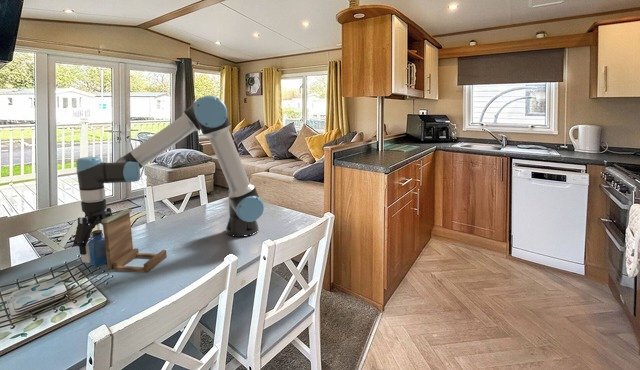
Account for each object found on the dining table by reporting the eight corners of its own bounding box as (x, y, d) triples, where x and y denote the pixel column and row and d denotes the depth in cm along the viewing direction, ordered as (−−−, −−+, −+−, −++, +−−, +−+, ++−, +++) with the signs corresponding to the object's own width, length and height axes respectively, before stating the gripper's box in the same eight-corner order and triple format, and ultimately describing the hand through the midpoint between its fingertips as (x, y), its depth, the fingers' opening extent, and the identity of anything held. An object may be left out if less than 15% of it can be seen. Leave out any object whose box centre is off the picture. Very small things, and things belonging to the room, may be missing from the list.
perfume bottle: (105, 256, 132) (102, 227, 129) (113, 260, 128) (110, 230, 126) (88, 262, 127) (84, 231, 124) (95, 266, 123) (91, 235, 121)
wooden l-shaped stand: (167, 256, 133) (163, 210, 129) (147, 272, 119) (142, 221, 115) (131, 254, 134) (126, 208, 130) (107, 270, 120) (101, 219, 116)
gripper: (107, 191, 135) (112, 241, 139) (54, 208, 111) (63, 268, 115) (125, 192, 134) (130, 242, 139) (76, 209, 110) (84, 269, 115)
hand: (100, 254), depth 127 cm, fingers open, 13 cm apart
